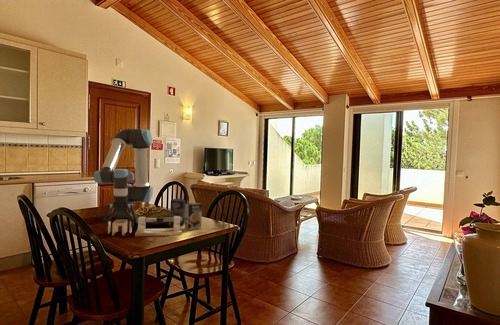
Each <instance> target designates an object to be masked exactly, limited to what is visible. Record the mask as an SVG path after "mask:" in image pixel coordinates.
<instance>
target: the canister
mask: <svg viewBox="0 0 500 325" xmlns="http://www.w3.org/2000/svg"><path fill="white" fill-rule="evenodd" d="M185 207H186V200H185V199H183V198H179V197H178V198H173V199H171V200H170V211H169V212H170V214H169V215H170V216H169V218H174V216H180V217H182V221H181V222H180V226H183V225H185ZM169 224H170V225H171V226H174V222H169Z"/></svg>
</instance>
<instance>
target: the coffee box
mask: <svg viewBox="0 0 500 325" xmlns="http://www.w3.org/2000/svg"><path fill="white" fill-rule="evenodd" d="M202 215H203V204H202V202H201V203H200V202H188V203H186V202H185V223H184V229H186V230H187V231H192V230H193V231H194V230H201V229H202V223H203V222H202V217H203V216H202Z"/></svg>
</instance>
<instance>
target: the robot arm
mask: <svg viewBox="0 0 500 325" xmlns="http://www.w3.org/2000/svg"><path fill="white" fill-rule="evenodd" d="M152 144H153V137H152V133H151V131H150V130H149V129H145V128H128V127H127V128H124V129H121V130H120V131H118V132H117V133H116V134H115V135H114V136H113V138H112V139H111V146H110V148H109V151H108V153H107V155H106V157H105V159H104V162H103V165H102V167H101V169H100V170H95V172H94V174H93V180H94V183H97V184H113V200H112V201H113V203H108V204H107V205H106V206H107V208H106V211H105V213H104V216H103V218H102V221H103V222H105V224H106V225H105V227H106V228H107V234H110V233H111V231H112V230H111V229H112V228H111V225H112V223H111V222H112V221H111V219H112V217H114V218H113V219H129V220H130V221H129V230H128V231H129V234H131V233H132V231H133V230H132V229H133V228H134V223H135V222H136V218H138V217H137V215H136V212H135V209H134V203H149V202H150V201H151V200H152V197H153V193H154V188H153V186H151V183H150V182H149V169H148V167H149V165H148V161H149V160H148V150H149V149H150V147H151V146H152ZM127 146H131V148H132V149H133V150H134V170H135V171H134V173H135V174H134V173H133V172H132V171H130V170H128V169H126V168H117V166H118V162H119V160H120V157H121V156H122V152H123V150H124V149H126V147H127ZM134 180H135V182H134ZM132 182H134V183H133V186H132V184H130V183H132ZM111 209H112V211H111V213H110V210H111ZM131 212H132V215H133V216H131V215H130V213H131ZM109 213H110V215H109ZM127 216H128V218H127ZM134 221H135V222H134Z"/></svg>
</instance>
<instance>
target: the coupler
mask: <svg viewBox="0 0 500 325" xmlns="http://www.w3.org/2000/svg"><path fill="white" fill-rule="evenodd" d="M111 225H112V228H111V229H112V230H111V231H112V233H111V236H115V235H117V232H119V227H121V235H122V236H125V235H126V233H127V232H128V218H115V220H114V221H113V222H112V223H111Z"/></svg>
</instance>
